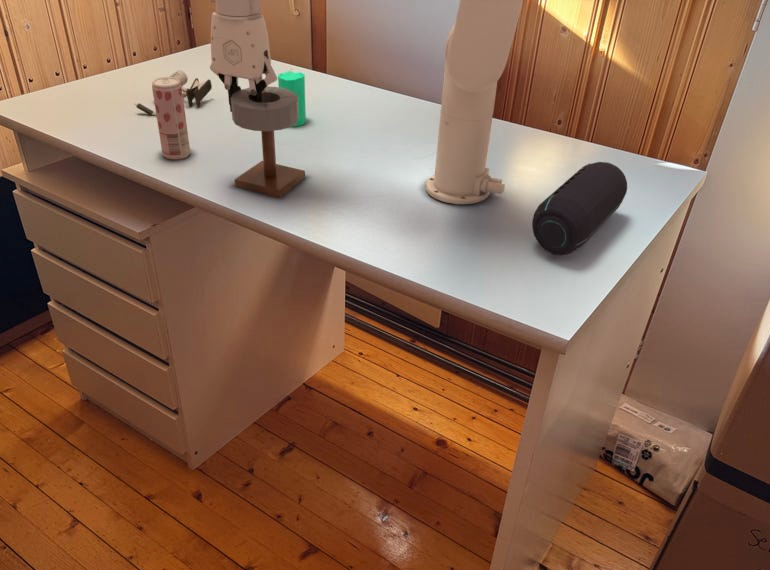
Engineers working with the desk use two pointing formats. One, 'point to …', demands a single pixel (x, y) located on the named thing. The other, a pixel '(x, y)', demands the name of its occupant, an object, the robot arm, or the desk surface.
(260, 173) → the rack
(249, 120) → the tape
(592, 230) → the portable speaker
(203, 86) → the clip-on lamp
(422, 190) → the desk surface
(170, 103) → the beverage can
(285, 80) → the candle
